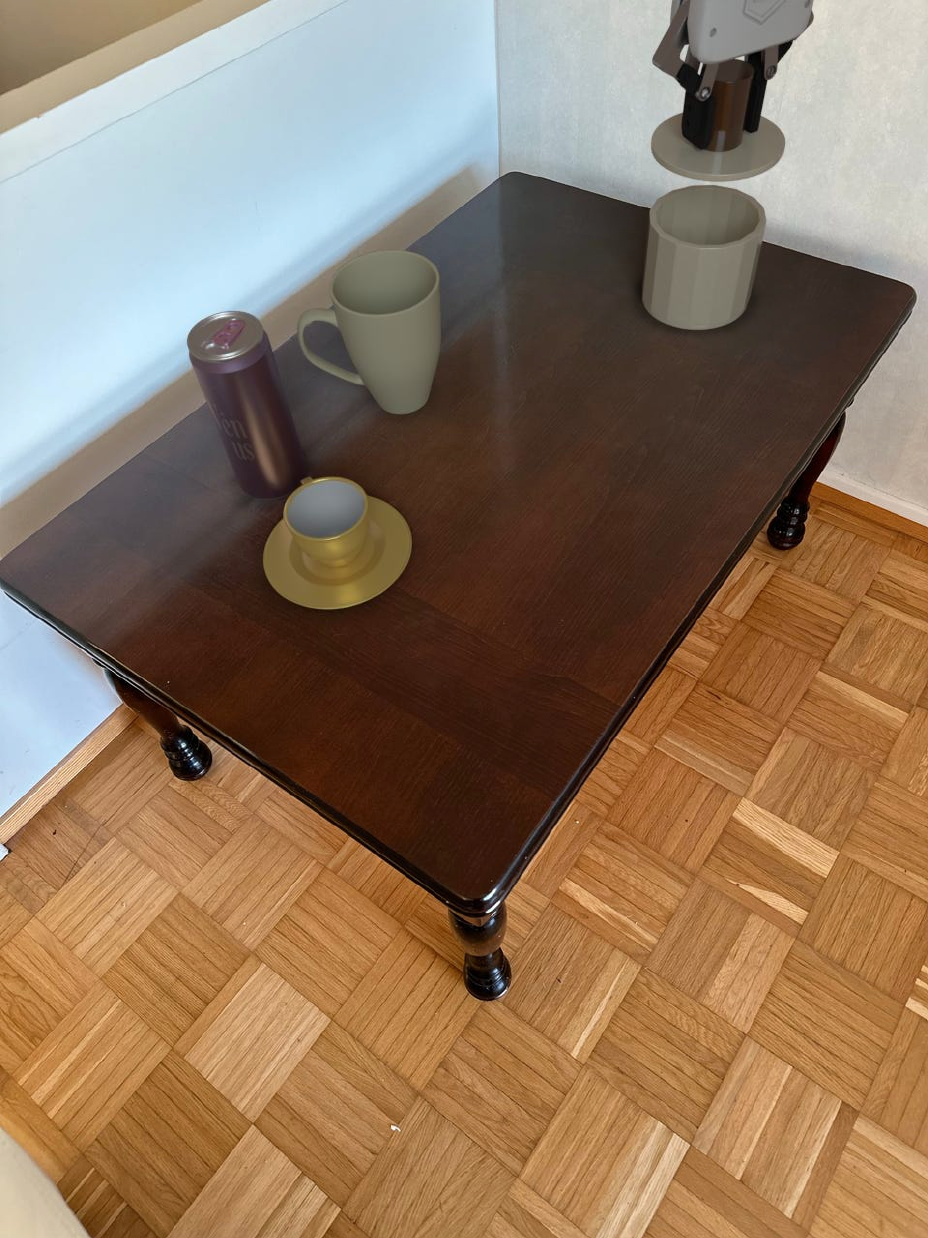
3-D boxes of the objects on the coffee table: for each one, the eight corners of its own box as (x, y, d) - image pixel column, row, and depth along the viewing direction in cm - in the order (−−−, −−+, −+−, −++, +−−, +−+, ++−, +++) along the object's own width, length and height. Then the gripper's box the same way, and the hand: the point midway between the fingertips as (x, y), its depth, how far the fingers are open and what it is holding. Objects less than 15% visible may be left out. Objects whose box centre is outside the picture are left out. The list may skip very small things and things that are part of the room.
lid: (775, 119, 80) (792, 35, 74) (789, 187, 73) (809, 101, 68) (648, 122, 81) (655, 40, 75) (652, 190, 75) (660, 106, 69)
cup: (438, 571, 71) (431, 525, 67) (297, 636, 68) (280, 593, 64) (374, 477, 77) (364, 430, 73) (243, 533, 75) (224, 487, 70)
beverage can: (321, 464, 79) (280, 318, 67) (285, 512, 76) (236, 368, 64) (263, 447, 81) (213, 301, 68) (226, 493, 78) (167, 350, 65)
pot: (743, 265, 91) (759, 183, 84) (753, 329, 85) (771, 247, 78) (640, 266, 92) (648, 185, 85) (642, 330, 86) (651, 249, 79)
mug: (392, 348, 87) (373, 233, 77) (471, 388, 83) (461, 272, 73) (312, 412, 83) (281, 298, 73) (391, 457, 79) (369, 343, 69)
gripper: (686, -97, 57) (656, 183, 72) (901, -155, 60) (830, 125, 75) (625, -130, 61) (608, 142, 76) (829, -182, 64) (775, 88, 79)
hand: (719, 131), depth 76 cm, fingers closed on lid, 4 cm apart
